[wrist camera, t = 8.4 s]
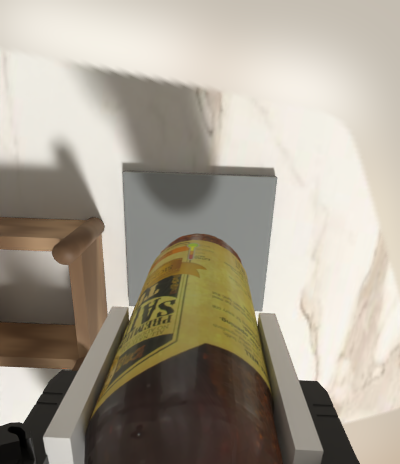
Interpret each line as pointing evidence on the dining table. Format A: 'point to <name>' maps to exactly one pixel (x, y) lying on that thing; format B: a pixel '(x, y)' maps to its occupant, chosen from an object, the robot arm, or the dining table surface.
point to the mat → (198, 219)
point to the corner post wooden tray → (82, 286)
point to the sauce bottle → (188, 368)
